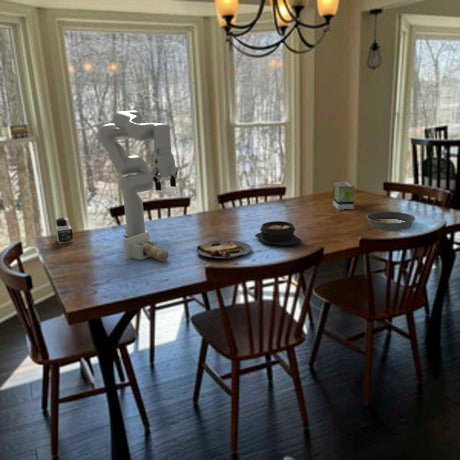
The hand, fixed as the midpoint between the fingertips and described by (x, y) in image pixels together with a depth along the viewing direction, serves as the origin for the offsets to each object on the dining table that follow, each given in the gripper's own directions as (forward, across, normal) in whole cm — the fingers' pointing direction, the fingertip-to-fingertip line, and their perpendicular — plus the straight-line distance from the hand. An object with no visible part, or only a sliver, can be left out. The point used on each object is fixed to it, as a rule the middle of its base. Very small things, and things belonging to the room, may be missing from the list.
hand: (166, 188), depth 210 cm
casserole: (+29, +32, -41) cm, 59 cm away
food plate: (+29, +6, -28) cm, 41 cm away
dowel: (+27, -17, -6) cm, 33 cm away
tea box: (+29, +112, -40) cm, 122 cm away
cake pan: (+29, +87, -77) cm, 120 cm away
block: (+28, -17, 0) cm, 33 cm away
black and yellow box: (+28, -22, +54) cm, 65 cm away
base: (+28, -17, +4) cm, 33 cm away
